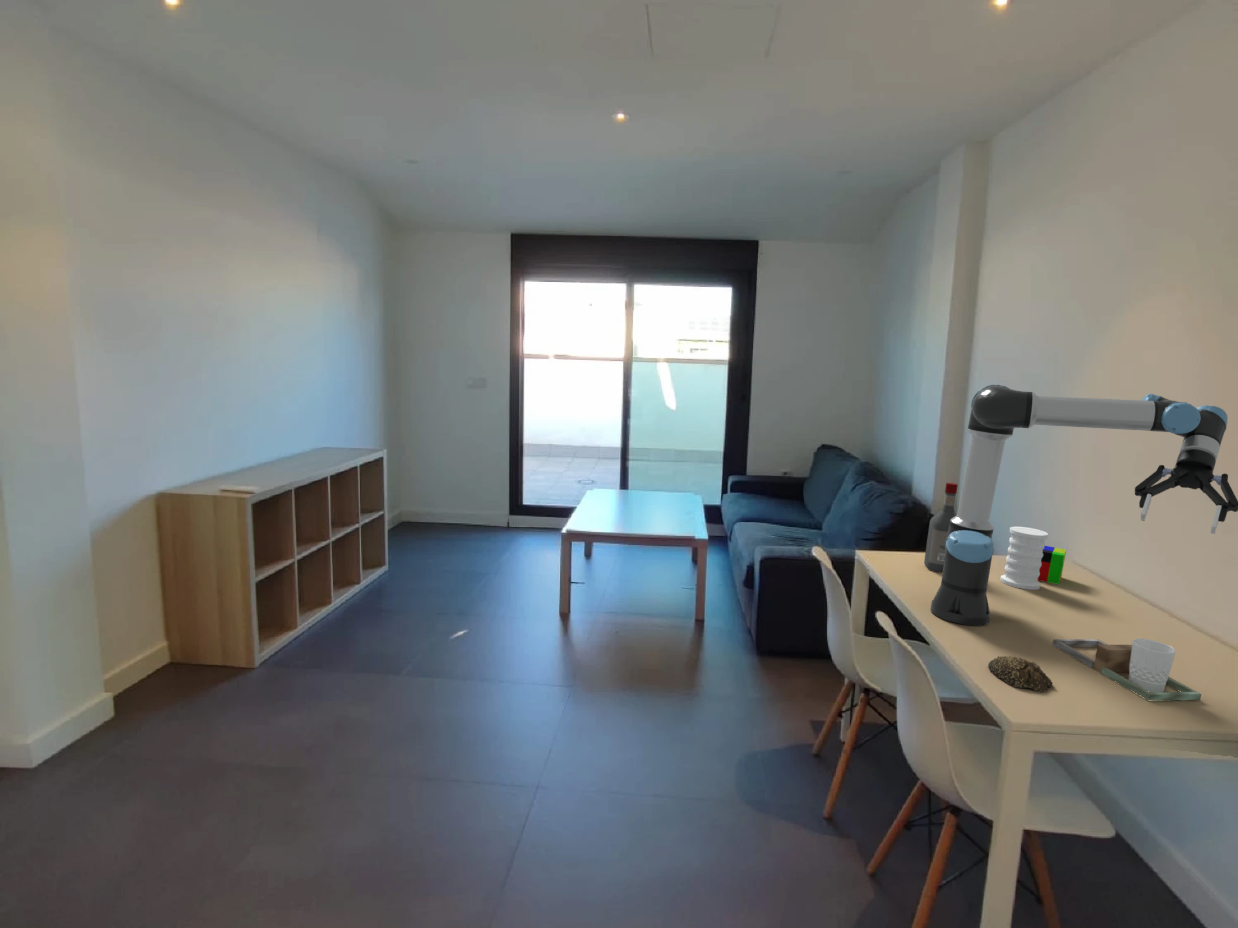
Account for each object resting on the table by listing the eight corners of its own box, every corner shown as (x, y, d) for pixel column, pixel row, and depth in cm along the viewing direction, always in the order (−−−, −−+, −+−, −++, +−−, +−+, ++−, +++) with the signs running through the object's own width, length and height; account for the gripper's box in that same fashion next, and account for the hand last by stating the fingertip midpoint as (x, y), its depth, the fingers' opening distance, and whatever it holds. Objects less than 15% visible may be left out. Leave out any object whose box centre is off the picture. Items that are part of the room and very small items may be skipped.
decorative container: (1048, 589, 231) (1058, 535, 228) (1020, 590, 228) (1029, 536, 225) (1019, 577, 242) (1028, 525, 239) (992, 578, 239) (1000, 526, 236)
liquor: (957, 574, 240) (970, 487, 235) (928, 571, 242) (941, 484, 237) (949, 566, 249) (962, 482, 244) (922, 563, 251) (934, 480, 246)
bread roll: (982, 664, 171) (985, 644, 170) (1036, 670, 170) (1039, 650, 169) (1004, 689, 158) (1008, 668, 158) (1063, 695, 157) (1067, 674, 156)
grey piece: (1148, 701, 157) (1153, 675, 156) (1052, 644, 185) (1056, 623, 184) (1200, 700, 158) (1205, 675, 157) (1097, 644, 187) (1101, 623, 186)
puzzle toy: (1028, 570, 251) (1032, 543, 249) (1061, 577, 245) (1066, 549, 243) (1024, 577, 243) (1029, 549, 241) (1058, 584, 237) (1063, 555, 235)
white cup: (1166, 698, 159) (1175, 656, 157) (1124, 686, 163) (1132, 645, 161) (1166, 686, 165) (1175, 645, 163) (1125, 674, 169) (1133, 635, 168)
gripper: (1261, 475, 174) (1243, 545, 166) (1137, 459, 191) (1115, 521, 182) (1264, 456, 169) (1246, 526, 161) (1137, 440, 186) (1115, 503, 178)
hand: (1176, 523), depth 172 cm, fingers open, 13 cm apart
